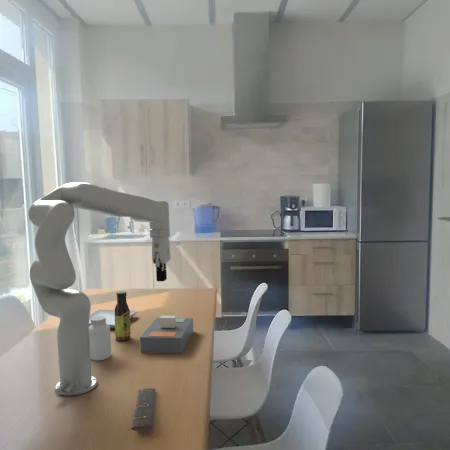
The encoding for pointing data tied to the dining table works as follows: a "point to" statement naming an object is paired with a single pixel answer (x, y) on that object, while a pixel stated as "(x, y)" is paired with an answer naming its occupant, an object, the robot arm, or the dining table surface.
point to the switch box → (167, 337)
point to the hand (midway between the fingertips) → (161, 280)
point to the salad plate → (108, 316)
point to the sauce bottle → (122, 318)
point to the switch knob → (167, 321)
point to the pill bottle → (99, 339)
